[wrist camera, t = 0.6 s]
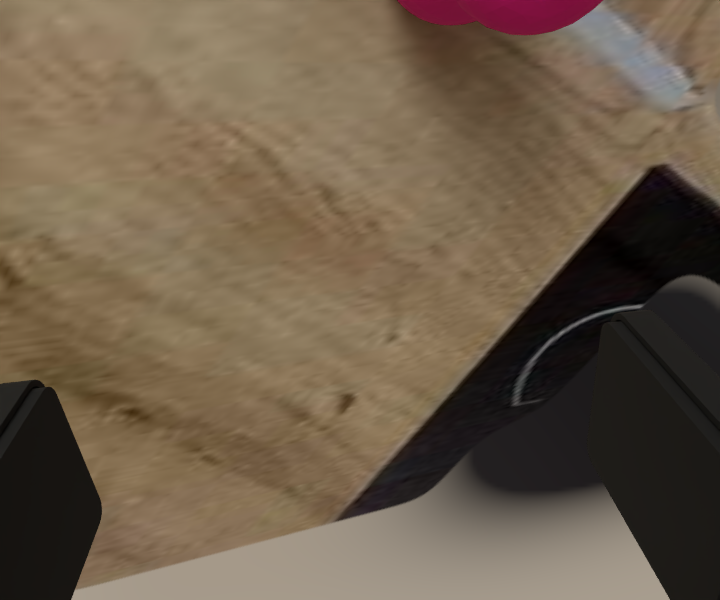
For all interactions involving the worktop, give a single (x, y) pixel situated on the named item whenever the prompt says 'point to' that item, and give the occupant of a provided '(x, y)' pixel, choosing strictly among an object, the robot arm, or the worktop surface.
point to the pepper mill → (503, 13)
